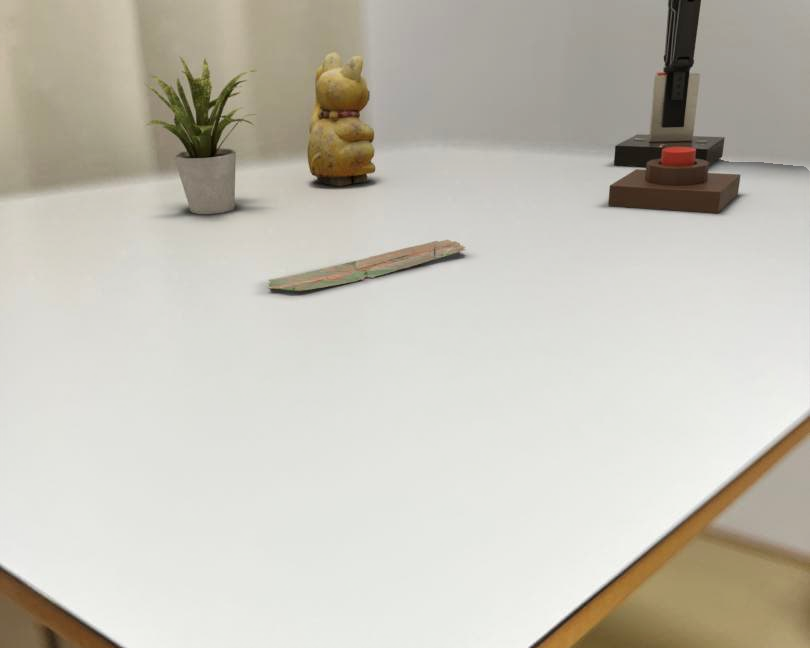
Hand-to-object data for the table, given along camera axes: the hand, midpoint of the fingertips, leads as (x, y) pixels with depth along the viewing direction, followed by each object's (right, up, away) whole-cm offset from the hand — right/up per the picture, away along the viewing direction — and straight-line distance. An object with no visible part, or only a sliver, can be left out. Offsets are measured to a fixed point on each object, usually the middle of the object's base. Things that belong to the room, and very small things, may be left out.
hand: (671, 125), depth 124 cm
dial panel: (0, -4, +2) cm, 4 cm away
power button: (-5, -14, -20) cm, 25 cm away
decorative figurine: (-44, -8, -2) cm, 45 cm away
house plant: (-57, -16, -14) cm, 61 cm away
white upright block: (0, -2, +1) cm, 2 cm away
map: (-38, -30, -38) cm, 62 cm away
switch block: (-5, -17, -18) cm, 25 cm away
